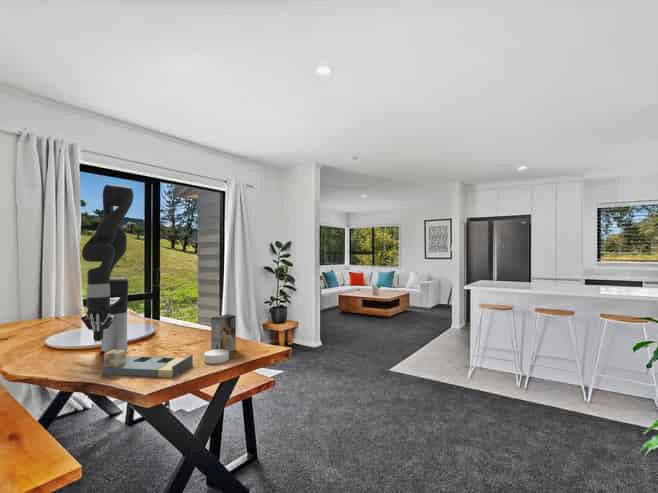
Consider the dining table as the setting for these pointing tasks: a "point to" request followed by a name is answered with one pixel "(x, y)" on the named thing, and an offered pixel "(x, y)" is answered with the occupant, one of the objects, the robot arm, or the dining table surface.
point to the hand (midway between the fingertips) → (98, 340)
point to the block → (114, 358)
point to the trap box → (151, 366)
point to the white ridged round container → (216, 356)
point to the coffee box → (223, 332)
